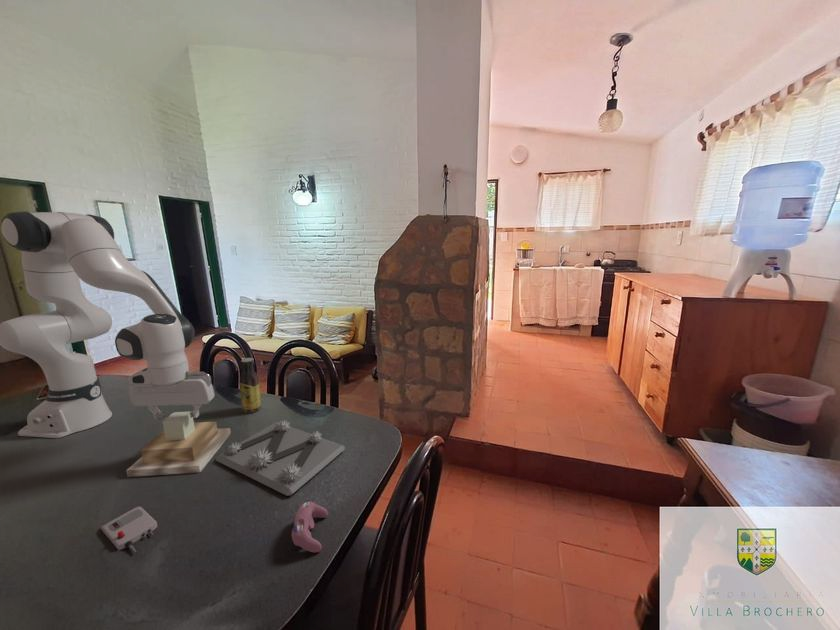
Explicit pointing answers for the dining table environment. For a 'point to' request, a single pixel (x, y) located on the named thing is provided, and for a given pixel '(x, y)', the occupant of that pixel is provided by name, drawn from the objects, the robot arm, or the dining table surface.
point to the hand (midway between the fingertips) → (177, 417)
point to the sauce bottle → (249, 387)
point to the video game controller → (307, 526)
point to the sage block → (178, 426)
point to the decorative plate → (281, 456)
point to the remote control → (129, 528)
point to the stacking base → (183, 464)
